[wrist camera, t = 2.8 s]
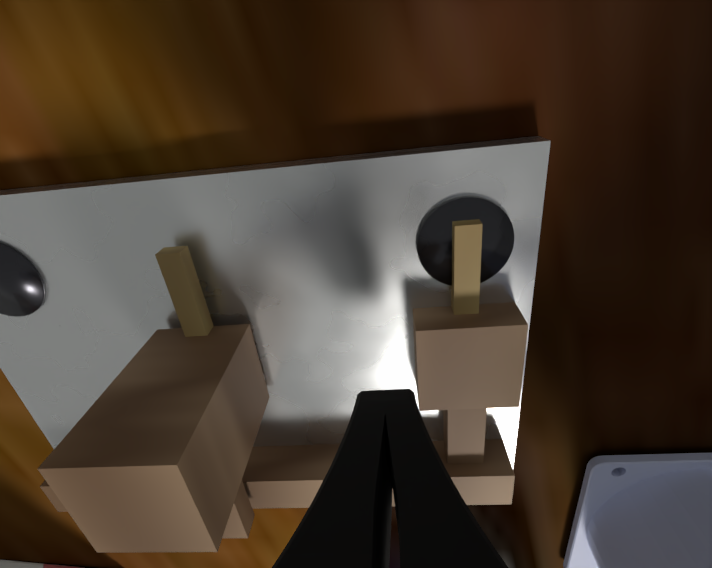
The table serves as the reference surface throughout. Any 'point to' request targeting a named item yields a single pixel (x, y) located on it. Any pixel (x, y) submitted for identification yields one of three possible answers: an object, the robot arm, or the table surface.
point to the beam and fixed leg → (428, 395)
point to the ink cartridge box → (29, 565)
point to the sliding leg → (168, 435)
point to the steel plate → (266, 274)
